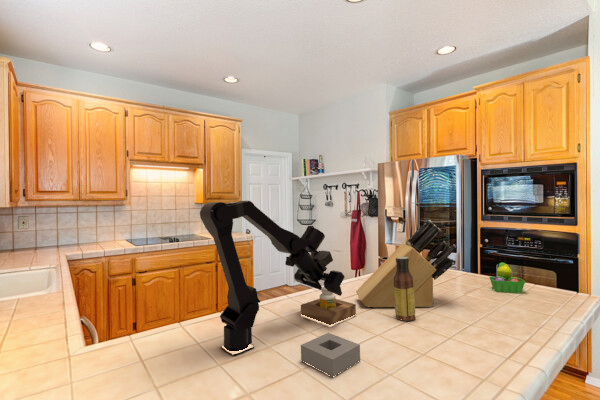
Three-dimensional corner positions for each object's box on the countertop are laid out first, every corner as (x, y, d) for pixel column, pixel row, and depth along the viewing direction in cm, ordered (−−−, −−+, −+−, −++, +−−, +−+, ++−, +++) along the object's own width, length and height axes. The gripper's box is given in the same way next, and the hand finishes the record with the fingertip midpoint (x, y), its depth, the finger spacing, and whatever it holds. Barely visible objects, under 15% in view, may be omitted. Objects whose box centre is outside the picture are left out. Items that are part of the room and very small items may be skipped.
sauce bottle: (412, 315, 105) (411, 255, 105) (417, 322, 98) (416, 259, 98) (392, 314, 105) (391, 255, 105) (396, 321, 99) (395, 259, 99)
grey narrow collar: (332, 378, 68) (332, 359, 68) (301, 361, 75) (300, 344, 75) (360, 361, 75) (359, 344, 75) (328, 347, 82) (328, 332, 82)
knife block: (460, 308, 111) (458, 220, 111) (360, 309, 111) (359, 222, 112) (446, 298, 122) (444, 219, 122) (355, 299, 122) (354, 220, 123)
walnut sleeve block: (330, 327, 95) (330, 314, 95) (300, 316, 105) (300, 304, 105) (355, 316, 104) (355, 304, 104) (326, 307, 114) (326, 296, 114)
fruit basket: (494, 292, 128) (493, 265, 128) (488, 287, 137) (487, 261, 137) (526, 294, 125) (525, 266, 125) (518, 288, 133) (517, 262, 134)
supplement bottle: (328, 312, 108) (328, 285, 108) (339, 317, 104) (338, 288, 104) (316, 316, 105) (316, 287, 105) (327, 321, 101) (326, 291, 101)
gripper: (339, 246, 95) (363, 276, 102) (300, 241, 109) (323, 268, 116) (321, 276, 90) (347, 306, 97) (282, 267, 104) (307, 293, 111)
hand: (330, 291), depth 105 cm, fingers open, 9 cm apart
